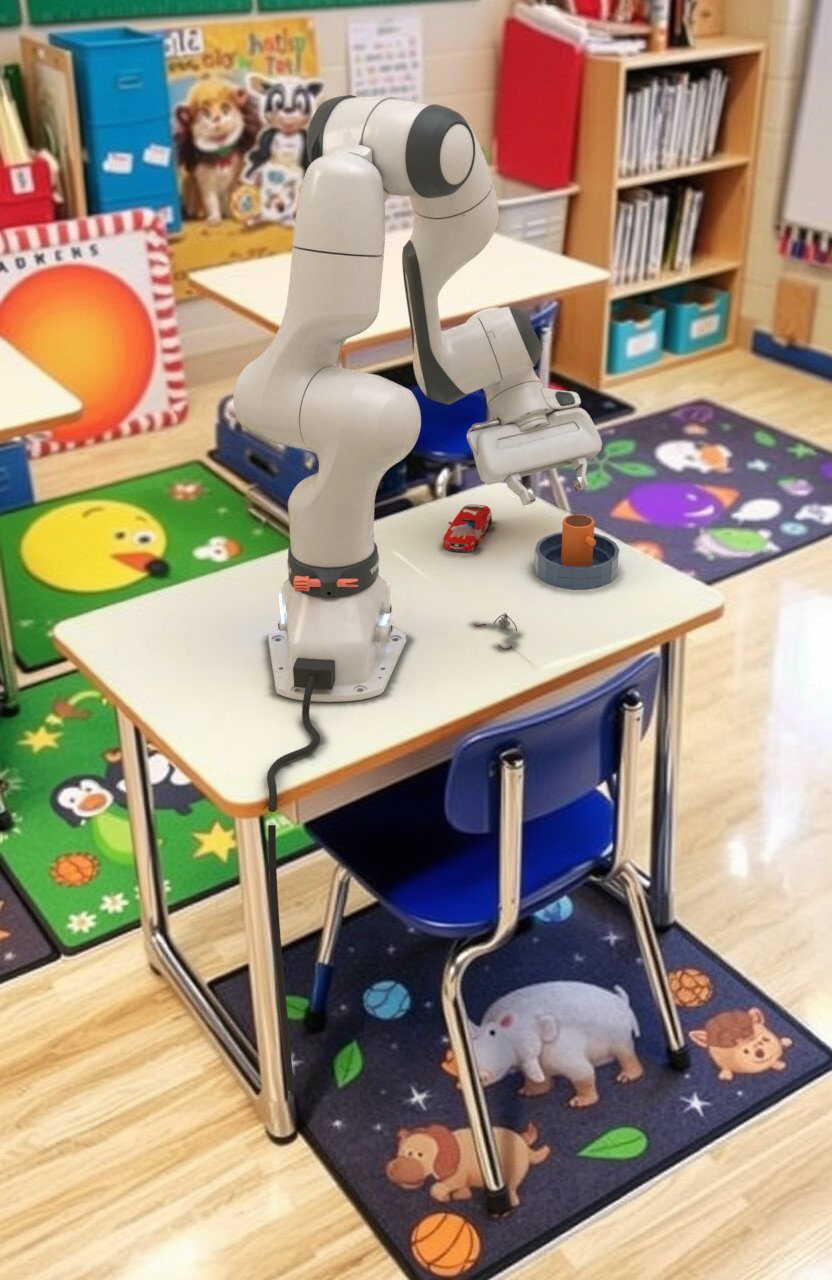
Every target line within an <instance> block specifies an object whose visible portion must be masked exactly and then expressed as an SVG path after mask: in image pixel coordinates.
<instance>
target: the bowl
mask: <svg viewBox="0 0 832 1280" xmlns="http://www.w3.org/2000/svg"><path fill="white" fill-rule="evenodd" d="M594 540H595V541H596V544H595V545H594V546H593V560H592V566H588V567H572V566H566V565H561V551H562V531H560V532H554V533H551V534H549V535H546V536H544V537H542V538H541V539H540V540H539V541H538V542H537V543H536V545H535V549H534V571H535V573H536V576H537V577H538V578H539V579H541V580H542V581H543V582H544V583H547V584H549V585H552V586H554V587H557V588H563V589H569V590H589V589H594V588H600V587H603V586H605V585H608V584H610V583H612V582H613V581H614V580H615V579H616V578H617V577H618V575H619V574H618V572H619V563H620V548H619V546H618V545H617V543H616V542H615V541H613V539H610V538H609V537H607V536H605V535H602V534H599V533H596V532H594Z"/></svg>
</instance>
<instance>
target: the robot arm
mask: <svg viewBox="0 0 832 1280" xmlns="http://www.w3.org/2000/svg"><path fill="white" fill-rule="evenodd" d="M306 132H307V133H306V152H307V157H308V158H307V159H308V162H309V165H308V167H307V169H306V170H305V174H304V178H303V180H302V184H301V188H300V192H299V197H298V202H297V206H296V207H297V208H296V211H295V219H294V226H293V236H292V248H291V261H290V273H289V274H290V275H289V280H288V281H289V282H288V289H287V290H288V291H287V298H286V306H285V308H284V309H285V310H284V314H283V317H282V319H281V323H280V325H279V328H278V329H277V332H276V334H275V336H274V338H273V339H272V341H271V342H270V343H269V345H268V347H267V348H266V349H265V350H264V351H263V352H262V353H261V354H260V355H259V356H258V357H256V358H255V359H253V360H252V361H250V362H249V363H248V364H246V365H245V367H244V368H243V369H242V370H241V372H240V374H239V375H238V377H237V379H236V382H235V385H234V388H233V394H232V395H233V397H232V398H233V399H232V401H233V402H232V403H233V409H234V413H235V416H236V418H237V420H238V423H239V424H240V426H242V427H243V428H244V429H245V430H247V431H249V432H251V433H253V434H254V435H256V436H258V437H260V438H262V439H264V440H266V441H268V442H271V443H273V444H276V445H280V446H285V447H289V448H293V449H297V450H301V451H306V452H309V453H313V454H315V455H316V457H317V460H318V472H317V473H314V474H311V475H310V476H307V477H305V478H304V479H302V480H301V481H300V482H298V483H297V485H296V486H294V488H293V490H292V491H291V493H290V495H289V498H288V500H287V512H288V513H287V514H288V527H289V528H288V529H289V542H290V543H289V544H290V546H289V547H288V550H287V560H286V561H287V563H286V564H287V570H288V571H287V572H288V578H287V579H286V580H285V581H284V582H283V583H281V584H280V593H278V597H279V609H280V618H281V620H278V623H277V628H276V629H274V630H272V631H271V632H269V634H268V647H269V654H270V660H271V666H272V673H273V681H274V687H275V692H276V694H277V695H280V696H281V697H285V698H288V699H292V700H297V701H302V705H301V706H302V708H301V718H302V723H303V726H304V728H305V730H306V731H307V733H308V734H309V735H310V736H311V738H312V740H311V742H310V743H309V744H307V745H306V746H304V747H301V748H299V749H297V750H294V751H291V752H289V753H286V754H284V755H282V756H280V757H279V758H277V759H276V760H275V761H273V762H272V765H270V767H269V768H268V771H267V773H266V774H267V775H266V781H267V786H268V812H270V813H274V812H276V811H277V809H278V807H277V805H278V789H277V782H276V774H277V772H278V770H279V769H280V768H281V767H282V766H283V765H285V764H286V763H289V762H291V761H293V760H296V759H299V758H301V757H304V756H307V755H309V754H311V753H312V752H313V751H315V750H316V748H317V747H318V746H319V744H320V742H321V735H320V733H319V731H318V730H316V728H315V727H314V726H313V725H312V722H311V717H310V709H311V708H310V707H311V702H315V703H317V702H320V703H339V702H353V701H361V700H367V699H371V698H374V697H377V696H380V695H382V694H383V693H384V691H385V689H386V687H387V686H388V683H389V681H390V678H391V676H392V674H393V672H394V670H395V668H396V665H397V663H398V660H399V659H400V656H401V654H402V653H403V650H404V647H405V645H406V643H407V635H406V633H405V632H404V631H403V630H401V629H399V628H397V627H394V626H393V625H394V624H393V612H392V611H393V610H392V609H393V607H392V594H391V593H392V592H391V585H390V584H389V583H388V582H387V581H386V580H384V579H383V578H382V577H381V575H379V572H380V568H379V567H380V554H379V551H378V545H377V543H376V542H375V502H376V494H377V492H378V491H377V490H378V487H379V486H380V482H381V480H382V479H383V477H384V475H385V474H386V473H387V471H388V470H390V469H391V468H392V467H393V466H394V465H397V464H398V463H399V462H401V461H402V460H404V459H405V458H406V457H407V456H408V455H409V454H410V453H411V451H412V450H413V449H414V447H415V446H416V444H417V441H418V439H419V436H420V434H421V433H420V432H421V428H422V415H421V408H420V405H419V402H418V400H417V397H416V396H415V394H414V393H413V391H411V390H410V389H409V388H407V387H405V386H403V385H402V384H399V383H396V382H395V381H392V380H389V379H388V378H386V377H383V376H381V375H378V374H374V373H370V372H369V373H368V372H364V371H360V370H353V369H348V368H343V367H339V366H338V361H339V356H340V352H341V349H342V347H343V346H344V344H345V342H346V340H348V339H350V338H353V337H355V336H357V335H360V334H361V333H363V332H365V331H366V330H368V329H369V328H370V327H371V326H372V325H373V324H374V322H375V321H376V319H377V317H378V315H379V312H380V301H381V291H382V280H383V269H384V260H385V259H384V258H385V247H386V246H385V245H386V204H385V203H386V201H387V200H388V198H389V196H400V197H401V196H402V197H408V198H409V201H410V205H411V207H412V211H413V215H414V218H413V220H414V222H413V229H412V233H411V235H410V237H409V239H408V240H407V242H406V243H405V245H403V247H402V254H401V264H402V275H403V283H404V284H403V285H404V293H405V299H406V306H407V313H408V320H409V327H410V333H411V344H412V361H413V362H412V365H413V366H412V368H413V374H414V376H415V380H416V383H417V385H418V387H419V388H420V389H419V390H421V392H422V393H423V394H424V396H425V397H426V398H427V399H429V400H431V401H433V402H436V403H440V404H443V405H452V404H454V403H456V402H457V401H459V400H461V399H464V398H466V397H467V396H468V395H470V394H472V393H474V392H477V391H479V390H481V389H482V390H483V391H484V394H485V400H486V406H487V409H488V411H489V413H490V416H491V418H492V419H490V420H487V421H483V422H476V423H474V424H472V425H471V427H470V428H469V429H468V430H467V432H466V441H467V443H468V445H469V449H471V451H472V453H473V458H474V462H475V467H476V470H477V473H478V475H479V479H480V480H481V482H483V483H484V484H486V485H487V486H490V485H491V486H492V485H495V484H499V483H503V482H505V483H506V487H507V488H508V489H509V490H510V491H511V492H513V493H514V494H515V495H516V496H517V497H519V499H520V502H521V504H522V506H529V505H533V504H534V503H535V502H536V499H537V498H536V495H535V494H534V490H533V488H531V489H527V488H526V487H525V486H524V485H523V484H522V482H520V481H521V480H522V477H527V476H531V475H535V474H539V473H542V472H545V471H551V470H555V469H558V468H562V467H566V466H570V467H572V470H573V471H576V478H575V479H574V480H573V481H572V482H571V483H572V485H573V487H574V490H575V492H581V491H586V490H587V489H588V488H590V487H589V486H590V484H589V481H588V479H587V477H586V476H587V467H588V461H591V460H593V459H594V458H595V457H596V456H597V455H598V454H600V452H601V451H602V447H603V442H602V439H601V438H602V437H601V436H600V433H599V431H598V429H597V427H596V425H595V422H593V419H592V417H591V415H590V414H589V413H588V412H587V411H586V410H585V409H584V408H582V407H579V406H580V405H581V403H582V400H581V398H580V395H579V394H578V393H577V392H575V391H572V390H571V391H570V390H569V391H568V390H560V389H553V388H549V387H544V384H543V382H542V381H541V379H540V378H539V377H538V375H537V374H536V372H535V370H534V367H536V366H537V364H538V362H539V359H540V358H541V355H542V352H543V349H544V347H543V345H542V343H541V341H540V338H539V337H538V334H537V333H536V331H535V329H534V327H533V324H532V321H531V317H530V314H529V313H528V312H526V311H525V310H522V309H520V308H518V307H516V306H512V305H509V306H503V307H495V306H494V307H487V308H483V309H481V310H479V311H477V312H475V313H474V314H472V315H471V316H469V318H468V319H467V320H466V321H465V322H464V323H462V324H459V325H456V326H454V327H451V328H449V329H447V330H442V327H441V320H440V319H441V318H440V312H439V304H438V303H439V302H438V299H439V295H440V292H441V291H442V289H443V287H444V286H445V284H446V283H447V282H448V281H449V280H450V279H451V278H452V277H453V276H455V274H456V273H457V272H458V271H459V270H460V269H462V268H463V267H464V266H466V265H467V264H468V263H469V262H470V261H472V260H473V259H475V258H476V257H477V256H478V255H479V254H480V253H482V251H483V250H484V249H485V248H486V247H487V245H488V244H489V242H490V241H491V239H492V237H493V236H494V234H495V232H496V229H497V227H498V223H499V220H500V219H499V218H500V211H499V202H498V197H497V192H496V188H495V183H494V180H493V178H492V174H491V170H490V167H489V165H488V162H487V159H486V157H485V156H486V155H485V153H484V152H483V149H482V146H481V144H480V141H478V138H477V136H476V133H475V132H474V130H473V129H472V126H471V125H470V123H469V121H468V120H467V118H465V116H463V114H461V113H460V112H459V111H456V110H454V109H452V108H449V107H447V106H444V105H440V104H436V103H435V104H434V103H433V104H426V103H422V102H416V101H413V100H407V99H400V98H398V97H394V96H383V95H381V96H379V95H378V96H376V95H375V96H372V95H371V96H357V95H353V94H347V95H340V96H335V97H332V98H329V99H327V100H324V101H323V102H321V104H320V105H318V107H317V109H316V110H315V112H314V114H313V115H312V117H311V119H310V122H309V124H308V127H307V131H306ZM276 832H277V824H268V825H267V852H268V853H267V855H268V879H269V896H270V897H269V898H270V911H271V922H272V923H271V925H272V926H271V927H272V937H273V950H274V951H273V952H274V960H275V961H274V962H275V972H276V982H277V993H278V1003H279V1014H280V1023H281V1033H282V1035H281V1036H282V1046H283V1056H284V1057H283V1058H284V1067H285V1079H286V1081H285V1082H286V1090H287V1091H288V1092H292V1091H294V1090H295V1084H294V1083H295V1082H294V1071H293V1059H292V1049H291V1037H290V1025H289V1016H288V1006H287V1005H288V1004H287V994H286V993H287V992H286V984H285V972H284V961H283V950H282V939H281V938H282V937H281V925H280V924H281V923H280V909H279V893H278V874H277V873H278V872H277V833H276Z"/></svg>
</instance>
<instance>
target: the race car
mask: <svg viewBox="0 0 832 1280" xmlns="http://www.w3.org/2000/svg"><path fill="white" fill-rule="evenodd" d="M447 524H448V525H450V526H449V527H448V529H447V531H446V533H444V535H443V539H442V545H443V548H444V549H446V550H447V551H450V552H455V553H470V552H473V551H476V548H477V547H478V546H479V545H480V544H481V542H482V541H483V539H484V537H485V535H486V534H487V532H488V531H489V528H490V527H491V526H492V524H493V515H492V510H491V508H490V507H489V506H488V505H484V504H476V503H469V504H465V505H464V506H463V507H462V508H461V509H460V510H459V512H458V514H457V515H456V516H455V517H454V519H453V520H452V521H448V522H447Z"/></svg>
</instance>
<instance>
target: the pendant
mask: <svg viewBox="0 0 832 1280" xmlns="http://www.w3.org/2000/svg"><path fill="white" fill-rule="evenodd" d="M509 620H510V621H509ZM497 621H498V624H499V625H500V626H501V627H503V628H505V629H506V630H508V631H510V630H511V628H509V627H510V626H511V622H512V624H513V626H514V628H515V632H518V627H517V625H516V623H515V622H514V621H513V619H512V618H511V617H510V616H509V615H508V614H507V613H506V612H504V613H503V614H500V615H499V616H498V617H497V618H496V619H495V620H494V622H493V625H495V624H496V622H497ZM474 626H475V627H481V626H487V624H486V623H481V624H476V623H474ZM497 645H498V648H500V649H502V650H510V649H511V648H512V647H513V646H512V645H510V646H509V647H502V646H501V645H500V644H497Z"/></svg>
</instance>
